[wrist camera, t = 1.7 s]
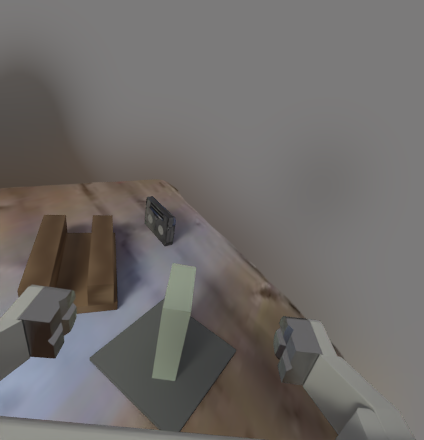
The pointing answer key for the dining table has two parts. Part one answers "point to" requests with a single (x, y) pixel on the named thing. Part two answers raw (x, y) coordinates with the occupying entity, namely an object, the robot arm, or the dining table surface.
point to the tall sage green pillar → (174, 321)
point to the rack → (75, 262)
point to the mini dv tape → (159, 221)
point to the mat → (158, 388)
